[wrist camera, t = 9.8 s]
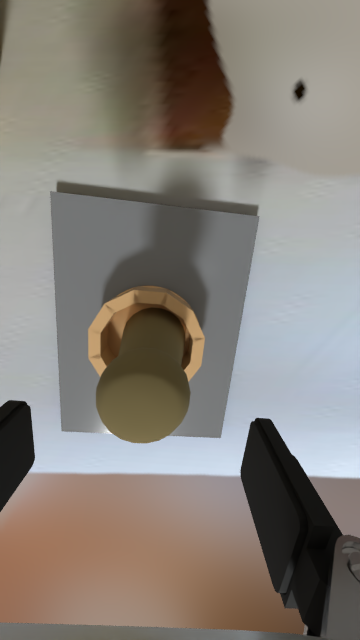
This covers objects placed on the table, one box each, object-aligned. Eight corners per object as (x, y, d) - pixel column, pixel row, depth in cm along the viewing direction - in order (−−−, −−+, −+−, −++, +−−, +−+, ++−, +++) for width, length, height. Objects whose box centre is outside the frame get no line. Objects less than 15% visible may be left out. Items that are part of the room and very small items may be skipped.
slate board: (255, 218, 21) (259, 216, 20) (218, 431, 27) (220, 437, 26) (56, 194, 19) (50, 191, 18) (65, 424, 26) (61, 431, 25)
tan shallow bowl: (205, 290, 21) (211, 295, 18) (193, 382, 24) (197, 401, 21) (99, 280, 21) (86, 284, 17) (98, 377, 23) (87, 395, 20)
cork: (109, 334, 21) (50, 410, 11) (157, 294, 20) (145, 331, 10) (151, 377, 23) (136, 482, 12) (198, 341, 22) (226, 418, 11)
